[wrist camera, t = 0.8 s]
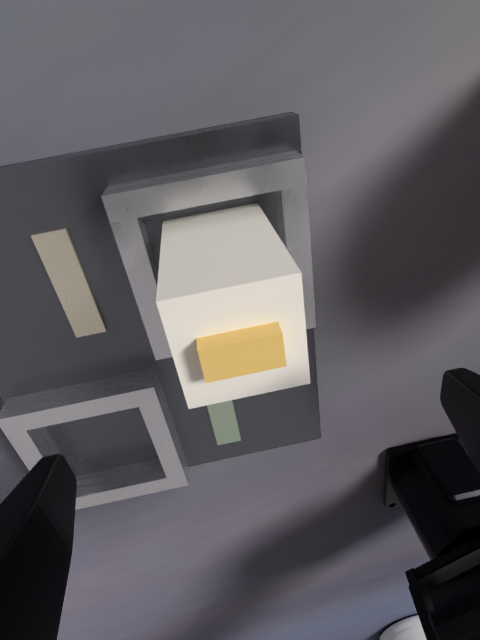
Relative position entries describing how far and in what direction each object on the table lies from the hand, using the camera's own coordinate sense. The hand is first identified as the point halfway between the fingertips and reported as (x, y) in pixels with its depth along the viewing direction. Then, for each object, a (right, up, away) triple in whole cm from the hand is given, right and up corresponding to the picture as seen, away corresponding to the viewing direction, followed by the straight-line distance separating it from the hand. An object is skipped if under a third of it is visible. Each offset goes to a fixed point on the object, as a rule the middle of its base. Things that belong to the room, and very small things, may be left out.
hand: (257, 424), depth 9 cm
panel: (-5, +2, +12) cm, 13 cm away
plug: (-1, +5, +9) cm, 10 cm away
